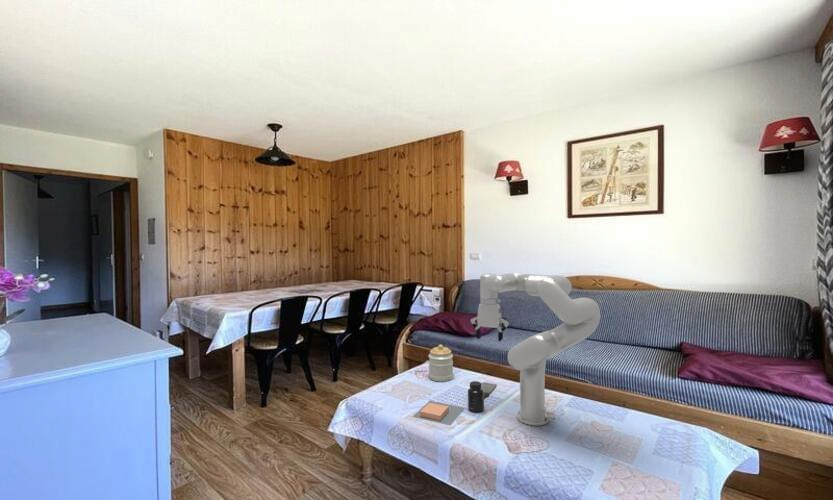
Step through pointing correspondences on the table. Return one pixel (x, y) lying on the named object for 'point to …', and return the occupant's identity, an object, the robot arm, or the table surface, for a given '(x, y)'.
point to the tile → (434, 411)
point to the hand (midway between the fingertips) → (489, 339)
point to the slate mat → (448, 418)
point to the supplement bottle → (475, 398)
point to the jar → (440, 364)
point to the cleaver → (487, 388)
